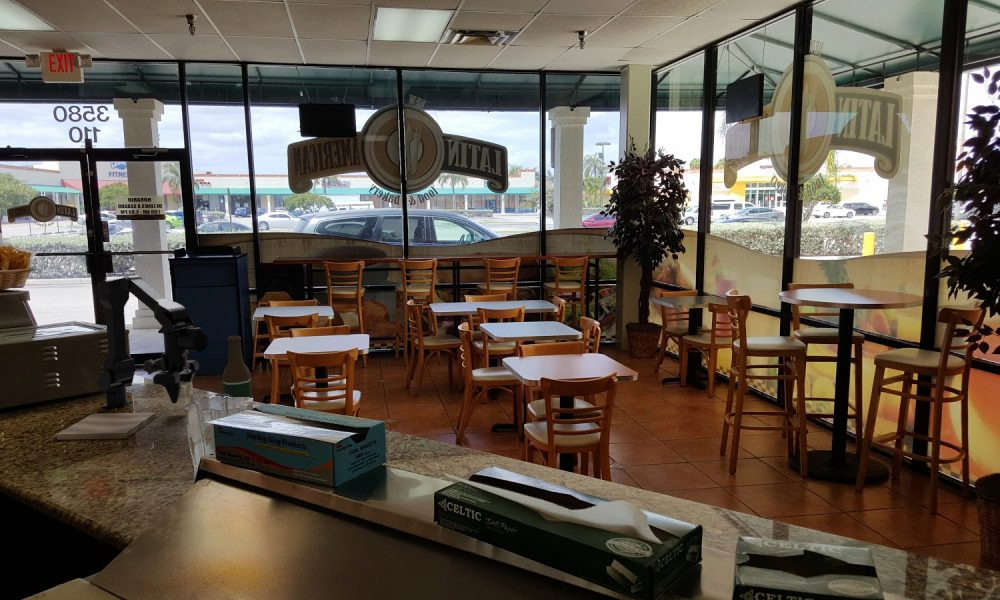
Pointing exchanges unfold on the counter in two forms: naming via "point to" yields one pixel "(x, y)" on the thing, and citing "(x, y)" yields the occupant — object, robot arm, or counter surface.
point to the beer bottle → (236, 371)
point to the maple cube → (180, 396)
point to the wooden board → (107, 426)
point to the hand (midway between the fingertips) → (178, 400)
